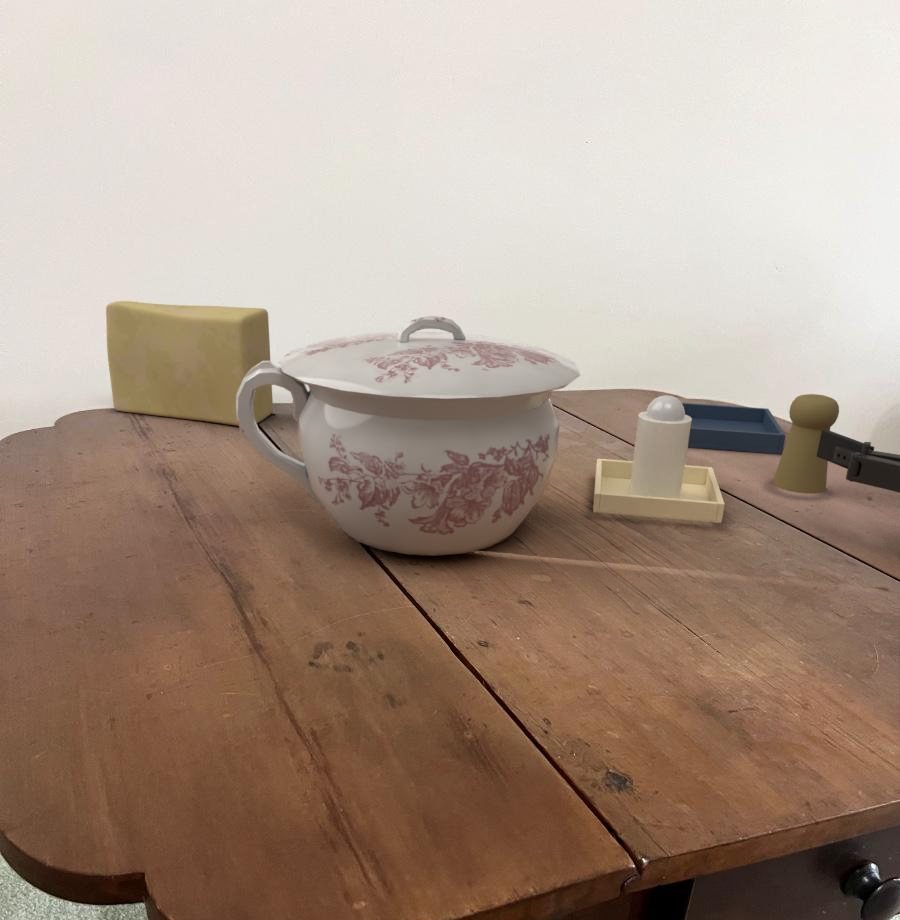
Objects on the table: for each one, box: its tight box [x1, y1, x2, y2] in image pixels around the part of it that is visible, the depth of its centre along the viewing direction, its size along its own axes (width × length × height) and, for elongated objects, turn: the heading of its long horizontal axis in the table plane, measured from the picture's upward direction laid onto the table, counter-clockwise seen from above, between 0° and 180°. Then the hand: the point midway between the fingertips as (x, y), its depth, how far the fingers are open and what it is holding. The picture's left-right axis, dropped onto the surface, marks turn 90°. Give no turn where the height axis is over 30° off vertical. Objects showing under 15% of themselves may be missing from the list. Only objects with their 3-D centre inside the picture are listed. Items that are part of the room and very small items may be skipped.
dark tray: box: [681, 402, 787, 455], centre depth 128 cm, size 15×15×3 cm
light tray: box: [592, 458, 726, 524], centre depth 101 cm, size 13×13×3 cm
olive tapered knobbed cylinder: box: [772, 393, 840, 494], centre depth 105 cm, size 6×6×11 cm
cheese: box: [105, 300, 274, 427], centre depth 126 cm, size 22×10×15 cm, turn 80°
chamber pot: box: [236, 315, 581, 557], centre depth 87 cm, size 28×28×21 cm
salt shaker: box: [629, 394, 692, 499], centre depth 99 cm, size 6×6×11 cm
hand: (874, 439), depth 96 cm, fingers open, 13 cm apart
